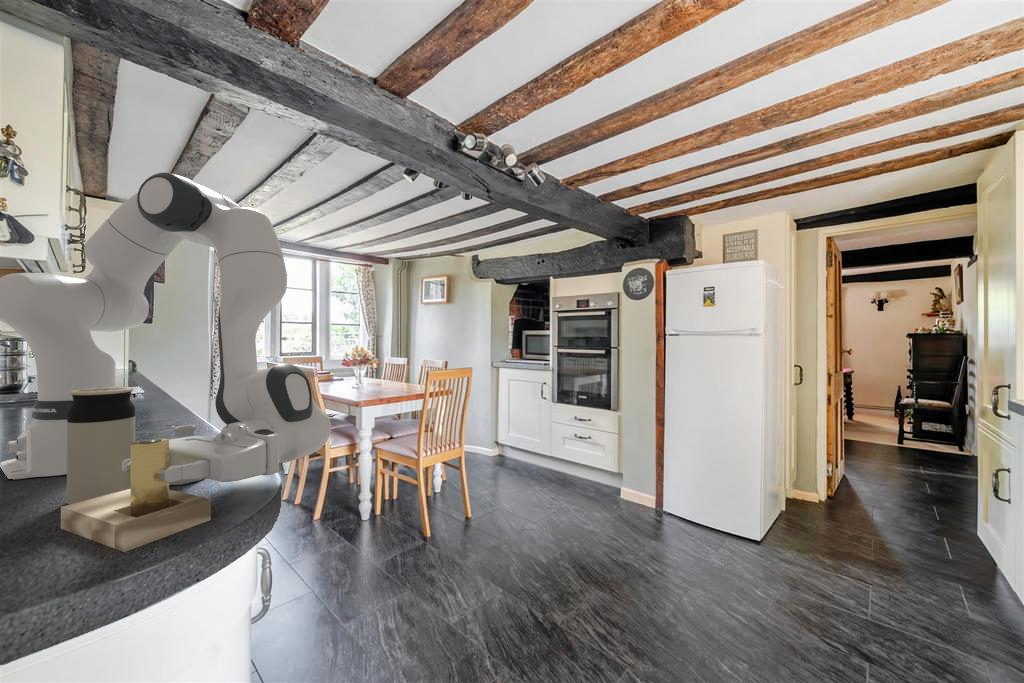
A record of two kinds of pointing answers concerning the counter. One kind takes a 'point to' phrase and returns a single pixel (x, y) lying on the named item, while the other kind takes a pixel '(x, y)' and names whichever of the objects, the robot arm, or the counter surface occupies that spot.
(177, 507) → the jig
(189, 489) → the counter surface
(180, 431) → the flask
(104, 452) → the travel mug
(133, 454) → the gold metal post
